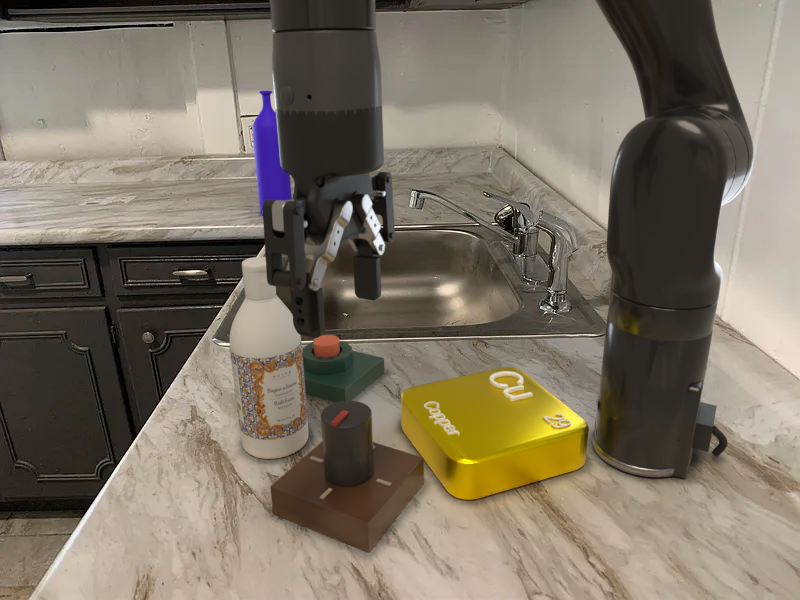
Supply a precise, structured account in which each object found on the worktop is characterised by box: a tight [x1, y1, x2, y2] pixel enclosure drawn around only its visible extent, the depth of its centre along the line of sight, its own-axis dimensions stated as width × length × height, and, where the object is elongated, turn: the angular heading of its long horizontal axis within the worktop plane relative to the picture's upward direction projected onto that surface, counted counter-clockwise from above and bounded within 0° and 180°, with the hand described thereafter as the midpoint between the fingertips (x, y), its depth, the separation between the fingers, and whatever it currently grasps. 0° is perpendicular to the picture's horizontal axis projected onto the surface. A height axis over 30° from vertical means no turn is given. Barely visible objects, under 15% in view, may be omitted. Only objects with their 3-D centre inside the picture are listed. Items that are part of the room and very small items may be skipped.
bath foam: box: [229, 256, 310, 460], centre depth 63 cm, size 7×7×20 cm
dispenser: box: [302, 340, 385, 403], centre depth 79 cm, size 11×9×4 cm
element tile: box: [400, 366, 590, 501], centre depth 65 cm, size 15×15×5 cm
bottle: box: [252, 90, 292, 216], centre depth 157 cm, size 8×8×30 cm
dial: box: [320, 400, 374, 486], centre depth 56 cm, size 4×4×6 cm
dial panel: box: [269, 441, 425, 553], centre depth 57 cm, size 10×10×3 cm
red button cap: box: [312, 334, 341, 357], centre depth 78 cm, size 3×3×2 cm
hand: (341, 315), depth 50 cm, fingers open, 8 cm apart
